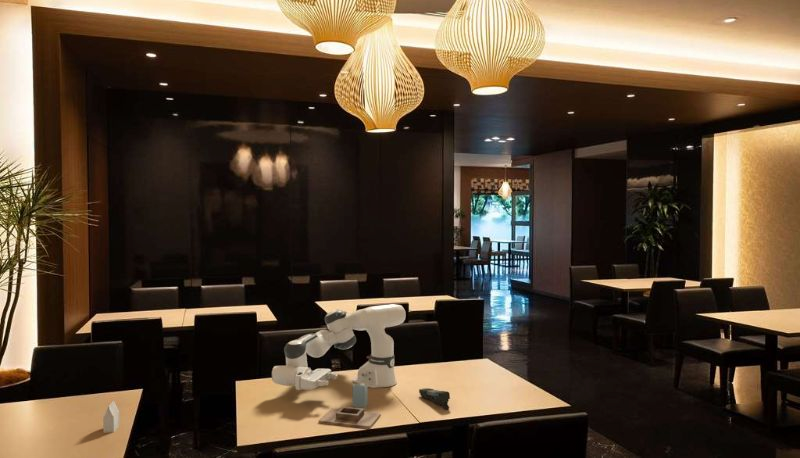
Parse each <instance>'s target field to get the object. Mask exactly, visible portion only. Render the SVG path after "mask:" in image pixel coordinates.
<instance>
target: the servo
mask: <svg viewBox="0 0 800 458" xmlns="http://www.w3.org/2000/svg"><path fill="white" fill-rule="evenodd" d="M367 406H368V387H367V385H366V384H365V383H361V384H358V383H354V384H353V385H352V407H354V408H363V409H365V408H366V407H367Z"/></svg>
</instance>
